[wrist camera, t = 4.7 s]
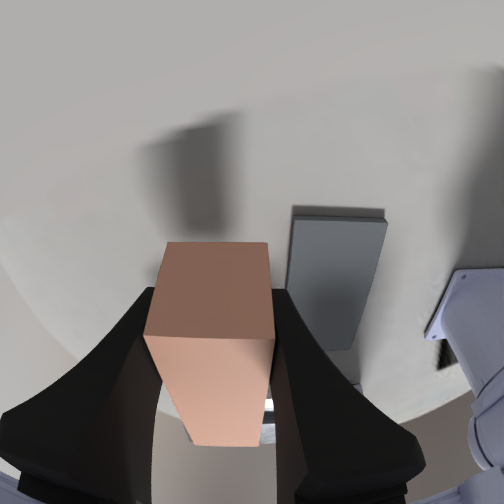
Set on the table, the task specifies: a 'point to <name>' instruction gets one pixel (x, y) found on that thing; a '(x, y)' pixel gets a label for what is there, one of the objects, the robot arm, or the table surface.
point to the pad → (333, 273)
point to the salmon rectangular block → (214, 337)
